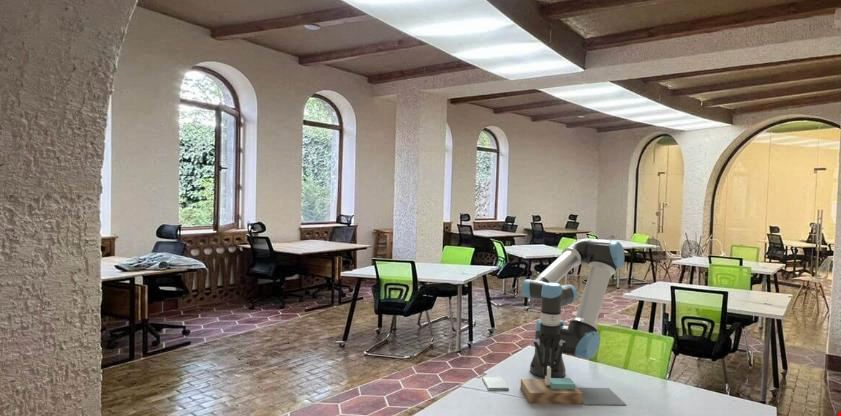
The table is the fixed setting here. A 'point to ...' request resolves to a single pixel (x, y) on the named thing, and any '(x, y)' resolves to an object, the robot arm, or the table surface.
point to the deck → (549, 393)
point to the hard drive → (495, 384)
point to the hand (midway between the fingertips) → (547, 383)
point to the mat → (600, 397)
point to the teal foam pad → (562, 383)
